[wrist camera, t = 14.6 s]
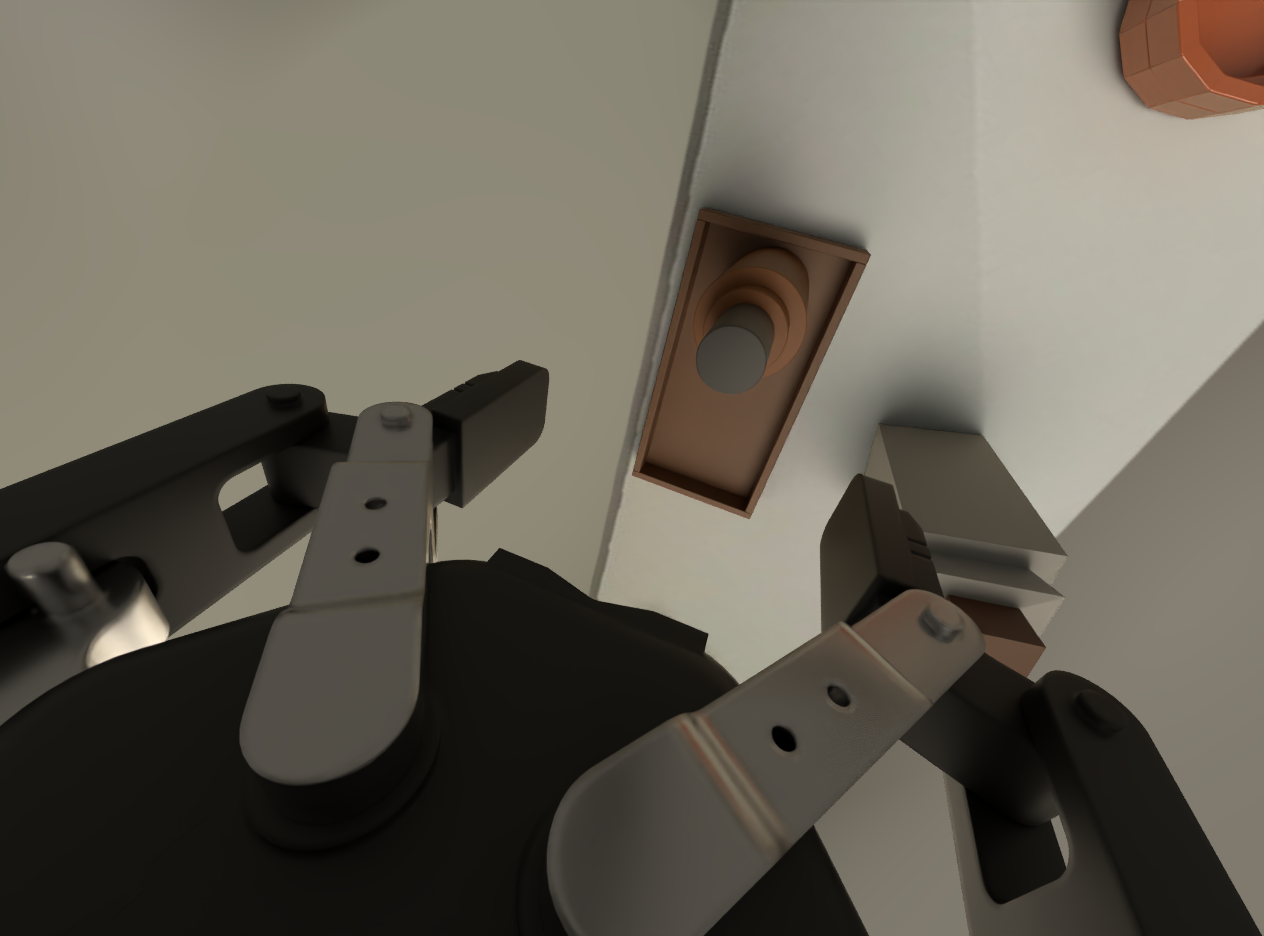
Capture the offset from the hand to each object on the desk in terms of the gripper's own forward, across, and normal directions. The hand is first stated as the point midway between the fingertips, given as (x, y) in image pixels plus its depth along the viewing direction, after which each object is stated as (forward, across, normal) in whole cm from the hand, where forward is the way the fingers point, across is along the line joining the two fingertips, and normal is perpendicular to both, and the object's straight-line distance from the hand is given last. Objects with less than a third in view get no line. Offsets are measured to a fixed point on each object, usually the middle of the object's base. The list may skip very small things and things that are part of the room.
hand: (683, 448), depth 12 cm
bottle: (+25, 0, 0) cm, 25 cm away
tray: (+26, 0, +7) cm, 27 cm away
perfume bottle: (+26, -15, +10) cm, 31 cm away
